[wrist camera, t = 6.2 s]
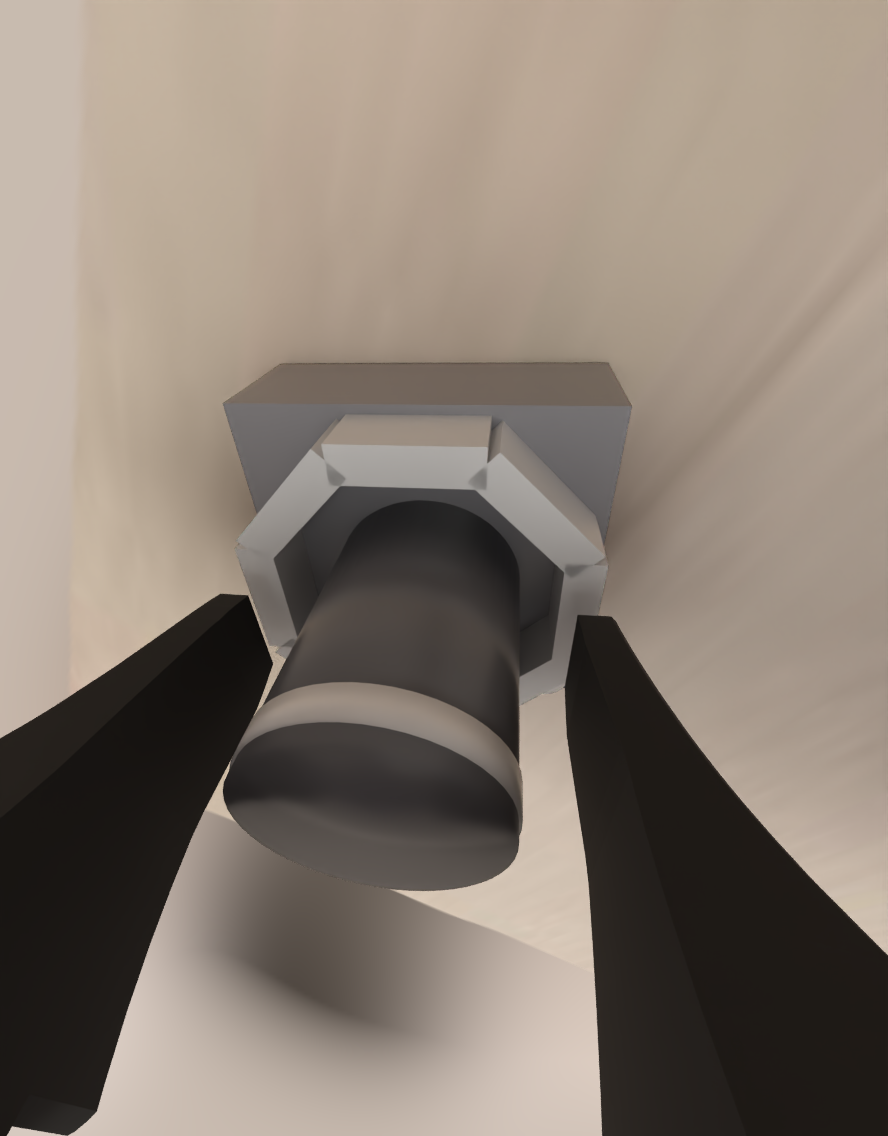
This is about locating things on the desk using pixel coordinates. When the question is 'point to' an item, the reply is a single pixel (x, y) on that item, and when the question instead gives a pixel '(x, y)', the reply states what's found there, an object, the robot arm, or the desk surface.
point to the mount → (434, 479)
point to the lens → (396, 712)
